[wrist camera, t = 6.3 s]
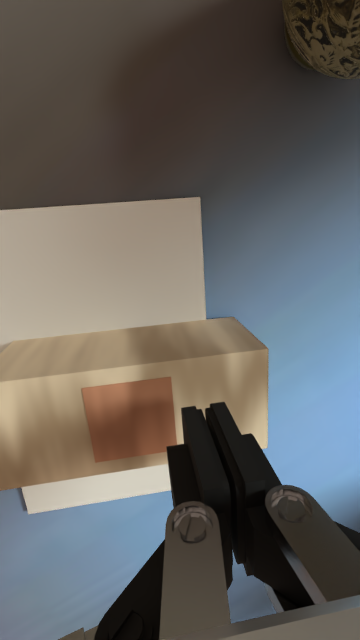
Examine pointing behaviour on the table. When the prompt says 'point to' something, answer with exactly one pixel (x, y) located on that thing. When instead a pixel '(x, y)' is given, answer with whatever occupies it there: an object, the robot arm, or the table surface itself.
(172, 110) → the table surface
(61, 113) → the table surface
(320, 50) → the cup
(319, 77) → the table surface
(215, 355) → the maple block
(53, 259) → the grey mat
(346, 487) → the table surface
